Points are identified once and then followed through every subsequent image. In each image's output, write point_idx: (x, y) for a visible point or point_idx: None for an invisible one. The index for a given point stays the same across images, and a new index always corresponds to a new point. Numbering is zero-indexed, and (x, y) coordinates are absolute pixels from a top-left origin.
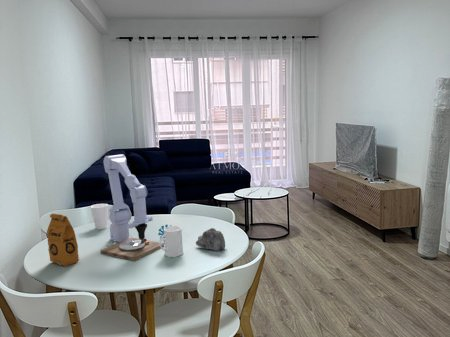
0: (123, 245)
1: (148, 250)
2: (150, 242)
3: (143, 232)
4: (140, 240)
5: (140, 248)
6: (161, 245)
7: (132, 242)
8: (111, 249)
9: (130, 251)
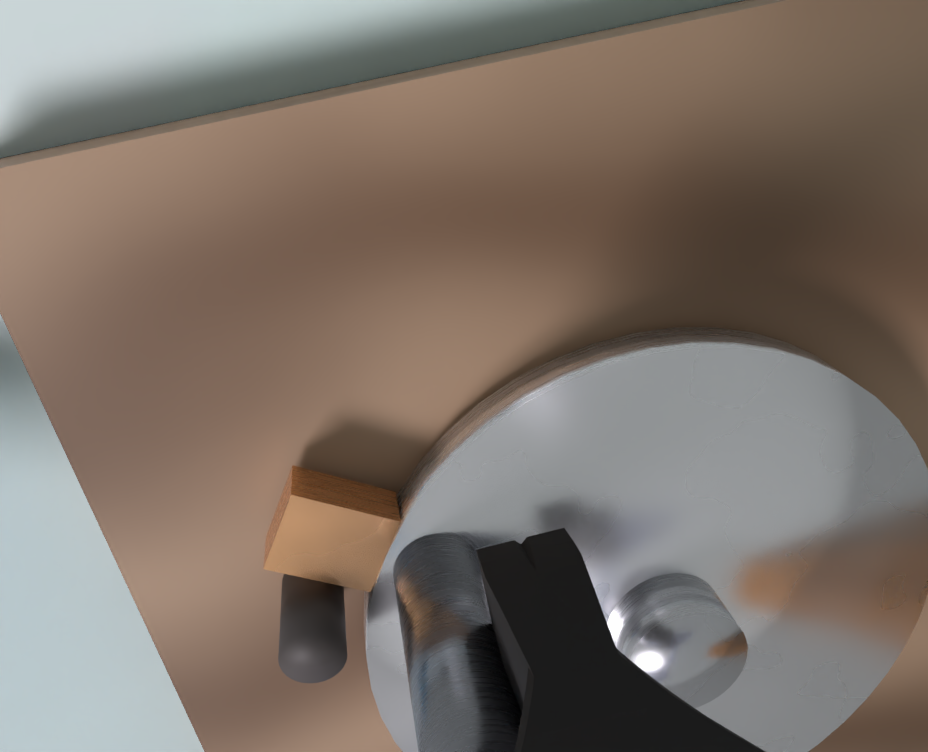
0: (812, 672)
1: (615, 65)
2: (201, 532)
3: (604, 674)
4: (391, 697)
5: (662, 330)
6: (68, 150)
7: (723, 617)
8: (924, 709)
9: (865, 376)
